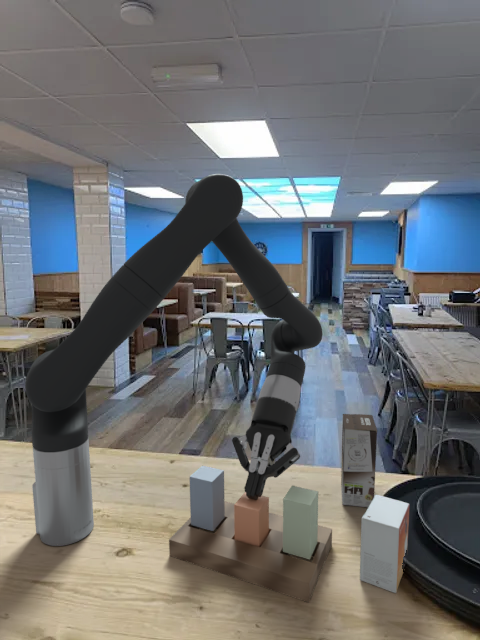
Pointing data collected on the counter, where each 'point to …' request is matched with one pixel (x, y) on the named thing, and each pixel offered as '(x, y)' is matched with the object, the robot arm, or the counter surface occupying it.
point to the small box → (384, 542)
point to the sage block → (300, 521)
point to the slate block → (207, 497)
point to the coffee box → (358, 459)
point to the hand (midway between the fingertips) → (251, 497)
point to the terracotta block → (251, 520)
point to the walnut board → (252, 555)
